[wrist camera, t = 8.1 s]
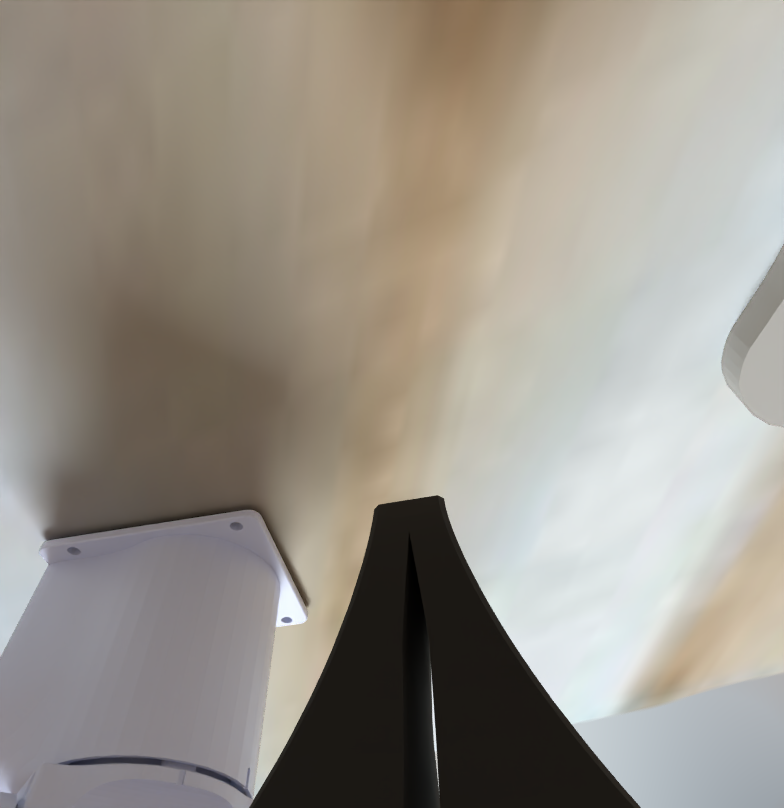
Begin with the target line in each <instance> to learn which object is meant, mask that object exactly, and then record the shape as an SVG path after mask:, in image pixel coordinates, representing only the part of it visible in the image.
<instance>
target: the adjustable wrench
mask: <svg viewBox="0 0 784 808" xmlns="http://www.w3.org/2000/svg"><path fill="white" fill-rule="evenodd" d="M721 365H722V372H723V375H724V378H725V381H726V384H727V385H728V387H729V388H730V389H731V390H732V391H733V393H734V394H735V395H736V396H737V397H738V398H739V400H740V401H741V402H742V403H743V404H744V405H745V407H746V408H747V409H748V410H749V411H750V412H751V413H752V414H753V415H754V416H756V417H757V418H759V419H760V420H762V421H764V422H765V423H767V424H769V425H774V426H779V427H784V245H783V247H782V248H781V250H780V252H779V254H778V256H777V258H776V260H775V261H774V263H773V265H772V267H771V268H770V270H769V272H768V273H767V275H766V277H765V279H764V280H763V282H762V283H761V285H760V286H759V288H758V289H757V291H756V292H755V294H754V296H753V297H752V299H751V300H750V302H749V303H748V305H747V306H746V308H745V309H744V311H743V312H742V314H741V315H740V317H739V318H738V320H737V322H736V323H735V325H734V326H733V328H732V329H731V331H730V333H729V335H728V338H727V340H726V343H725V346H724V350H723V355H722V361H721Z"/></svg>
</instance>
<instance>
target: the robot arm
mask: <svg viewBox="0 0 784 808" xmlns="http://www.w3.org/2000/svg"><path fill="white" fill-rule="evenodd" d="M236 522H238V523H236ZM39 553H40V555H41V556H42V558H43V559H44V560H45V561H46V562H47V563H48V564H49V565H48V567H47V569H46V571H45V572H44V574H43V576H42V578H41V580H40V582H39V584H38V586H37V588H36V590H35V592H34V594H33V596H32V597H31V599H30V601H29V603H28V605H27V607H26V609H25V611H24V613H23V615H22V617H21V619H20V621H19V622H18V624H17V626H16V628H15V630H14V632H13V634H12V636H11V638H10V640H9V642H8V644H7V646H6V648H5V649H4V651H3V653H2V655H1V657H0V808H640V806H639V805H638V804H637V803H636V802H635V801H634V799H633V798H632V797H631V796H630V795H629V794H628V793H627V792H626V790H625V789H624V788H623V787H622V786H621V785H620V783H619V782H618V781H617V780H616V779H615V777H614V776H613V775H612V774H611V773H610V771H608V769H607V768H606V767H605V766H604V764H603V763H602V762H601V761H600V760H599V759H598V757H597V756H596V755H595V754H594V752H593V751H592V750H591V749H590V747H589V746H588V745H587V744H586V743H585V741H584V740H583V739H582V737H581V736H580V735H579V733H578V732H577V731H576V730H575V728H574V727H573V726H572V724H571V723H570V722H569V721H568V719H567V718H566V717H565V715H564V714H563V713H562V712H561V710H560V709H559V708H558V706H557V705H556V704H555V703H554V701H553V700H552V699H551V697H550V696H549V694H548V693H547V692H546V690H545V689H544V687H543V686H542V685H541V683H540V682H539V681H538V679H537V678H536V676H535V675H534V674H533V672H532V671H531V669H530V668H529V666H528V665H527V663H526V662H525V660H524V659H523V657H522V656H521V655H520V653H519V652H518V650H517V649H516V647H515V645H514V644H513V642H512V641H511V639H510V638H509V636H508V635H507V633H506V631H505V630H504V628H503V627H502V625H501V623H500V622H499V620H498V618H497V617H496V615H495V613H494V612H493V610H492V608H491V607H490V605H489V603H488V601H487V599H486V598H485V596H484V594H483V592H482V591H481V589H480V587H479V585H478V583H477V581H476V579H475V577H474V575H473V573H472V571H471V569H470V567H469V566H468V564H467V562H466V559H465V557H464V555H463V553H462V551H461V549H460V546H459V544H458V541H457V539H456V537H455V534H454V532H453V529H452V526H451V524H450V521H449V518H448V514H447V511H446V507H445V502H444V498H442V497H440V496H438V495H437V496H431V497H424V498H418V499H412V500H405V501H399V502H393V503H386V504H380V505H378V506H377V507H376V508H375V509H374V515H373V522H372V527H371V532H370V536H369V540H368V545H367V549H366V552H365V556H364V560H363V563H362V567H361V570H360V573H359V576H358V579H357V583H356V586H355V589H354V592H353V595H352V598H351V601H350V604H349V607H348V610H347V612H346V615H345V617H344V620H343V623H342V625H341V628H340V631H339V633H338V636H337V638H336V641H335V644H334V646H333V649H332V651H331V653H330V656H329V658H328V660H327V663H326V665H325V667H324V669H323V672H322V674H321V676H320V678H319V680H318V683H317V685H316V687H315V689H314V691H313V693H312V695H311V697H310V699H309V702H308V703H307V705H306V707H305V709H304V711H303V713H302V715H301V717H300V719H299V721H298V723H297V725H296V727H295V729H294V731H293V733H292V735H291V737H290V738H289V740H288V742H287V744H286V746H285V748H284V749H283V751H282V753H281V755H280V757H279V758H278V760H277V762H276V763H275V765H274V767H273V768H272V770H271V772H270V773H269V775H268V777H267V779H266V780H265V782H264V784H263V785H262V787H261V789H260V790H259V792H258V794H257V795H256V797H255V799H254V800H253V795H254V787H255V780H256V772H257V765H258V757H259V749H260V742H261V734H262V727H263V719H264V712H265V704H266V697H267V689H268V682H269V674H270V667H271V659H272V651H273V644H274V636H275V629H276V627H280V626H287V625H294V624H301V623H303V622H305V621H306V620H307V618H308V611H307V608H306V606H305V604H304V602H303V600H302V598H301V596H300V594H299V592H298V590H297V588H296V586H295V584H294V582H293V580H292V578H291V576H290V574H289V572H288V570H287V568H286V565H285V563H284V561H283V559H282V557H281V555H280V553H279V551H278V549H277V547H276V545H275V543H274V541H273V539H272V537H271V535H270V533H269V531H268V529H267V527H266V525H265V522H264V520H263V518H262V516H261V515H260V514H259V513H258V512H256V511H254V510H242V511H235V512H229V513H222V514H216V515H209V516H203V517H196V518H190V519H183V520H177V521H170V522H164V523H157V524H151V525H144V526H138V527H131V528H125V529H119V530H112V531H106V532H99V533H93V534H86V535H80V536H73V537H67V538H60V539H54V540H48V541H45V542H44V543H43V544H42V545H41V547H40V549H39ZM431 671H432V684H433V698H434V713H435V728H436V743H437V759H438V777H439V787H438V779H437V769H436V760H435V751H434V740H433V724H432V691H431ZM439 794H440V796H439Z"/></svg>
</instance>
